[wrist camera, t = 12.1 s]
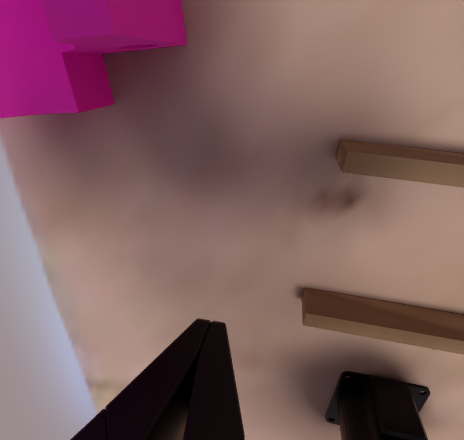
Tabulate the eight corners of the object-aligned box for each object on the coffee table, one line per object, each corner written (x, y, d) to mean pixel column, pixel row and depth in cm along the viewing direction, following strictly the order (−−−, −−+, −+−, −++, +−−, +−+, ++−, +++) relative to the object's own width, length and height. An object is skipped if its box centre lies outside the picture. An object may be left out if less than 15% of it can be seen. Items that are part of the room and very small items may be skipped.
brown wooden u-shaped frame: (513, 335, 20) (539, 368, 18) (301, 298, 21) (302, 325, 19) (629, 173, 15) (685, 191, 13) (340, 139, 16) (347, 151, 14)
